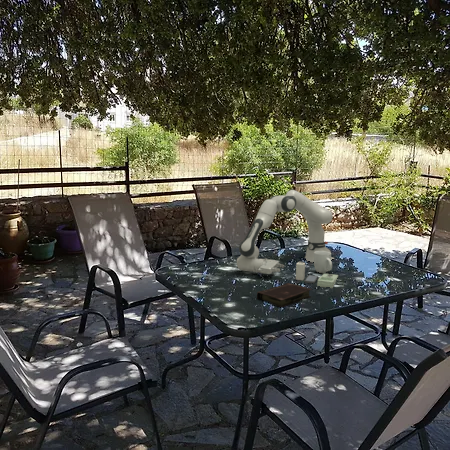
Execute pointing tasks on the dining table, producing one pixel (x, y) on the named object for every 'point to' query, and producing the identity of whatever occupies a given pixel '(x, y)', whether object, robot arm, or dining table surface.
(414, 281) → the dining table surface
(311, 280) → the phone
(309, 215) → the robot arm
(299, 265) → the charger
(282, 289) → the diary
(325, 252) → the mug
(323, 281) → the green desk organizer
